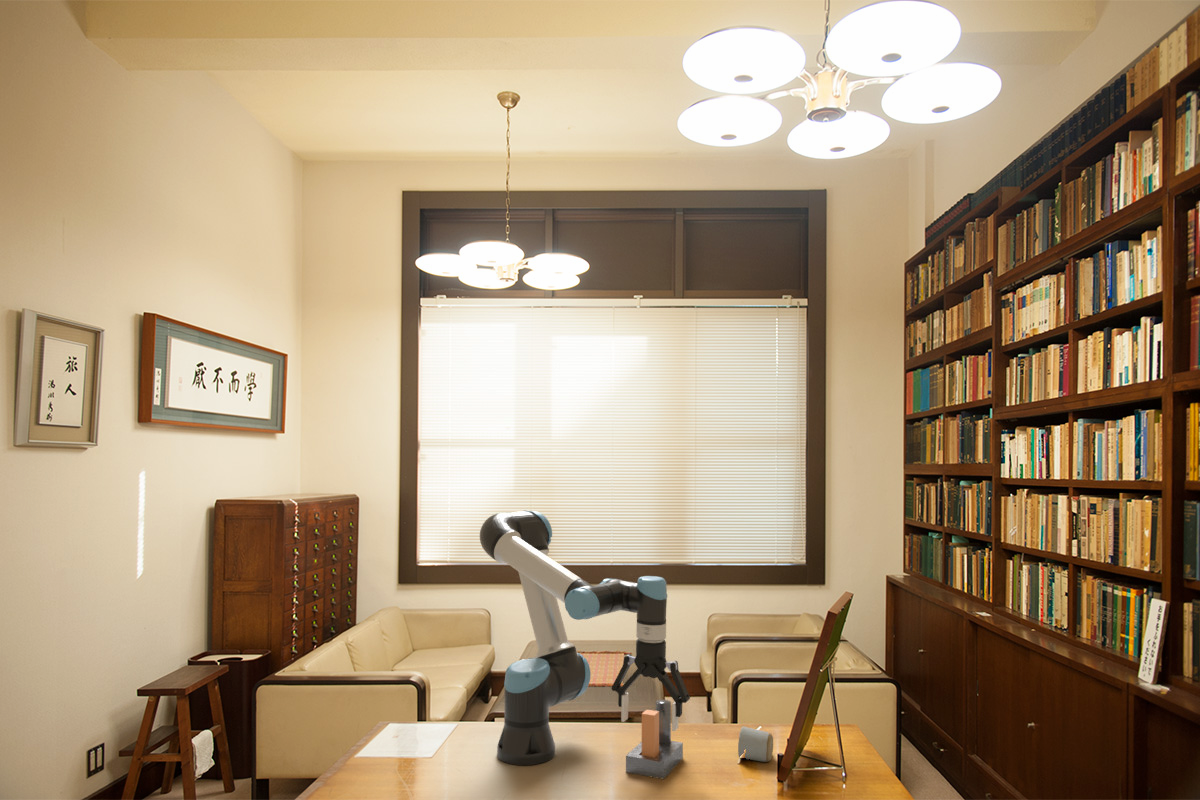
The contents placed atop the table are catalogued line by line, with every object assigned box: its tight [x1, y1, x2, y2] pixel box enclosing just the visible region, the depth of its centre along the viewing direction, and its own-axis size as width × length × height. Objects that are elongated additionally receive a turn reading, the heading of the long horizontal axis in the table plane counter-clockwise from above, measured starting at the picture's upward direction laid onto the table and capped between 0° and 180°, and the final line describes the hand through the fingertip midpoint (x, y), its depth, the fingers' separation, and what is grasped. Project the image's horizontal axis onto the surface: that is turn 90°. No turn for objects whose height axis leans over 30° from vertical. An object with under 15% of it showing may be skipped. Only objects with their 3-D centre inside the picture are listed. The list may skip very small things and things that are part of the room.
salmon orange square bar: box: [641, 709, 659, 758], centre depth 199 cm, size 3×3×14 cm
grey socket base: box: [625, 699, 684, 780], centre depth 202 cm, size 10×15×14 cm, turn 156°
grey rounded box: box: [737, 726, 774, 763], centre depth 207 cm, size 11×8×8 cm
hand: (649, 724), depth 199 cm, fingers open, 13 cm apart
